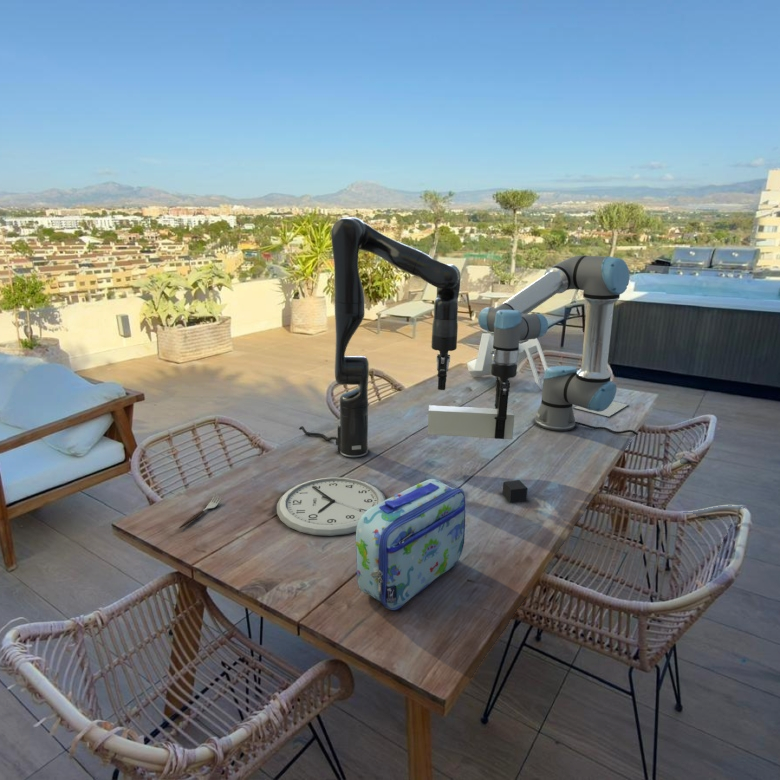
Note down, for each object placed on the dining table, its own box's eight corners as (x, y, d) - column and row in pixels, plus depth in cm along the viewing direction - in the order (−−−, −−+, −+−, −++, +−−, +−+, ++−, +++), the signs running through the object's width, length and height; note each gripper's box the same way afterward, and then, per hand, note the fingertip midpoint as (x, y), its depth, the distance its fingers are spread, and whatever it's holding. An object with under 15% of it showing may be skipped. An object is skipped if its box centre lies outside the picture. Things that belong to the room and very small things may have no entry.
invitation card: (608, 416, 214) (573, 407, 224) (608, 416, 214) (573, 408, 224) (628, 404, 229) (594, 396, 238) (628, 405, 229) (594, 397, 238)
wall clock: (392, 527, 129) (268, 531, 127) (391, 533, 130) (269, 537, 127) (383, 473, 158) (282, 475, 155) (383, 478, 158) (282, 480, 156)
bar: (510, 433, 165) (512, 409, 162) (512, 439, 160) (514, 414, 158) (428, 428, 168) (429, 405, 165) (427, 434, 163) (428, 410, 161)
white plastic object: (487, 418, 267) (468, 395, 242) (469, 346, 289) (449, 318, 264) (558, 394, 255) (545, 368, 230) (533, 321, 277) (518, 289, 252)
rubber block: (518, 492, 152) (519, 479, 150) (526, 500, 147) (527, 488, 146) (502, 494, 151) (503, 481, 149) (509, 502, 146) (511, 489, 145)
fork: (174, 529, 130) (174, 521, 130) (216, 499, 144) (215, 492, 144) (183, 531, 129) (182, 524, 129) (223, 501, 144) (223, 494, 143)
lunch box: (385, 624, 100) (387, 528, 94) (349, 596, 108) (348, 506, 101) (468, 566, 118) (474, 482, 112) (432, 545, 125) (436, 466, 119)
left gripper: (433, 328, 163) (431, 379, 167) (430, 337, 149) (428, 391, 154) (457, 329, 162) (454, 380, 166) (457, 338, 148) (454, 393, 153)
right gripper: (489, 354, 165) (484, 423, 172) (493, 369, 148) (487, 445, 155) (514, 355, 164) (507, 425, 171) (520, 370, 147) (513, 447, 154)
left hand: (442, 385), depth 160 cm, fingers open, 8 cm apart
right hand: (498, 434), depth 163 cm, fingers closed on bar, 5 cm apart
